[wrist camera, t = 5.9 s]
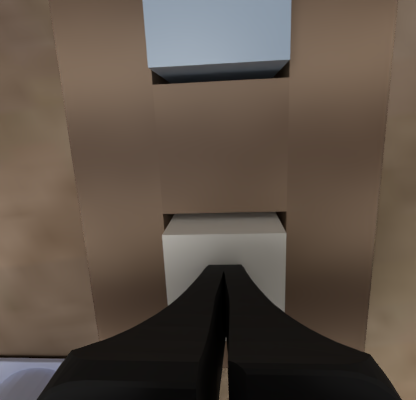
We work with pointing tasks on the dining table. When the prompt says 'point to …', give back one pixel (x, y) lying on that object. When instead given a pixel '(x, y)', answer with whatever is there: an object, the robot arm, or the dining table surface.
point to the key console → (230, 155)
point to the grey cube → (217, 39)
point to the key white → (226, 250)
